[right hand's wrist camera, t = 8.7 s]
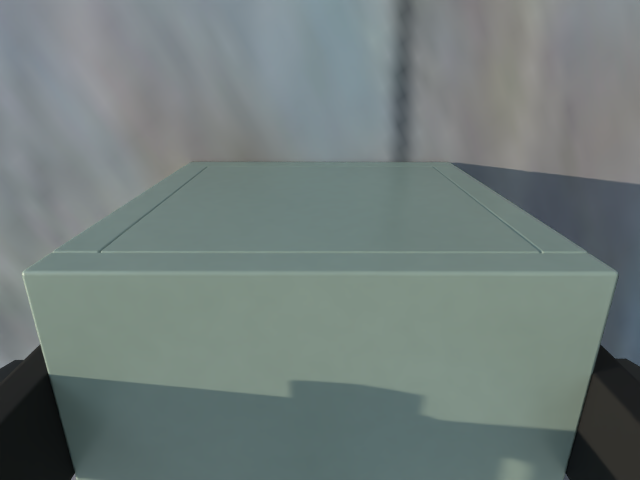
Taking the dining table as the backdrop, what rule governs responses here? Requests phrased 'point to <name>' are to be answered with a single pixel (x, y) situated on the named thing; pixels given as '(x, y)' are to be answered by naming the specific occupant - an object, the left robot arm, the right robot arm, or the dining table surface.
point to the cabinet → (320, 328)
